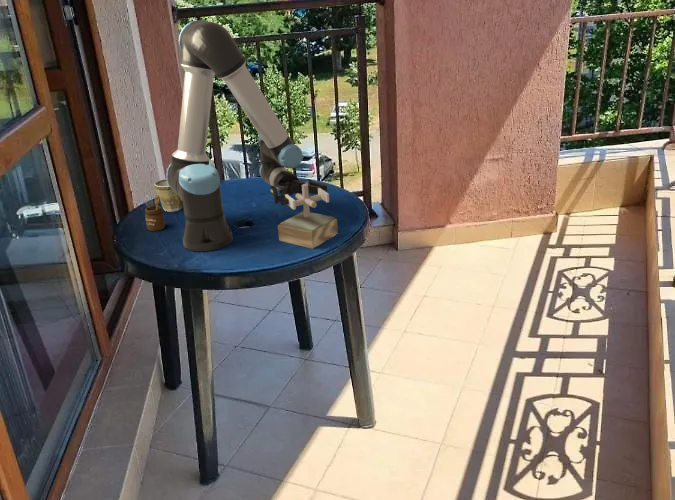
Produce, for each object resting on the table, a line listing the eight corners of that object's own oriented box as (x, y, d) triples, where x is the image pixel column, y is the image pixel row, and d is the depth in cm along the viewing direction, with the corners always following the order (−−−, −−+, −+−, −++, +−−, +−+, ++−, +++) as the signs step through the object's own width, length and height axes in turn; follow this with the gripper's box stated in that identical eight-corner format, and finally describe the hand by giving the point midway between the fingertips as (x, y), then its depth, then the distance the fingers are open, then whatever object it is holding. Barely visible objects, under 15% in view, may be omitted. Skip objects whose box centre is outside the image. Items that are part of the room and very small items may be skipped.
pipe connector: (300, 224, 189) (298, 192, 185) (284, 215, 197) (282, 184, 193) (329, 217, 194) (327, 185, 190) (313, 207, 202) (311, 177, 198)
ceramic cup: (153, 212, 225) (148, 185, 221) (168, 203, 234) (163, 176, 230) (186, 215, 222) (181, 187, 217) (199, 205, 230) (195, 178, 226)
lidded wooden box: (312, 248, 190) (311, 231, 188) (279, 240, 197) (277, 223, 195) (337, 233, 200) (336, 217, 197) (304, 226, 207) (303, 210, 204)
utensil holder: (157, 223, 215) (151, 189, 211) (170, 226, 212) (164, 192, 207) (143, 229, 211) (137, 194, 206) (155, 232, 208) (149, 197, 203)
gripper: (317, 186, 214) (346, 206, 195) (252, 199, 205) (276, 220, 187) (315, 165, 211) (345, 182, 192) (250, 176, 202) (274, 196, 184)
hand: (311, 201), depth 189 cm, fingers closed on pipe connector, 10 cm apart
